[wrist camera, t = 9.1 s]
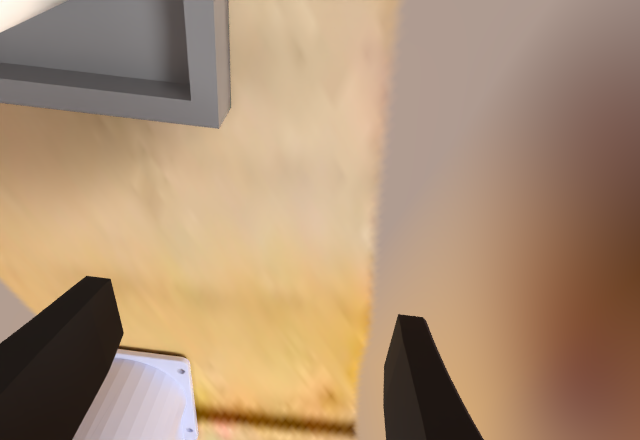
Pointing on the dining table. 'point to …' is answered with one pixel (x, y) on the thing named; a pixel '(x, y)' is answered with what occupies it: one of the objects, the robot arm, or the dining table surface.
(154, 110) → the gray tray
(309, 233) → the dining table surface
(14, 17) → the salt shaker
